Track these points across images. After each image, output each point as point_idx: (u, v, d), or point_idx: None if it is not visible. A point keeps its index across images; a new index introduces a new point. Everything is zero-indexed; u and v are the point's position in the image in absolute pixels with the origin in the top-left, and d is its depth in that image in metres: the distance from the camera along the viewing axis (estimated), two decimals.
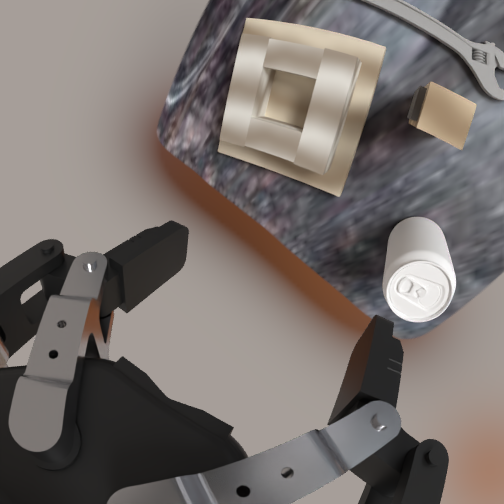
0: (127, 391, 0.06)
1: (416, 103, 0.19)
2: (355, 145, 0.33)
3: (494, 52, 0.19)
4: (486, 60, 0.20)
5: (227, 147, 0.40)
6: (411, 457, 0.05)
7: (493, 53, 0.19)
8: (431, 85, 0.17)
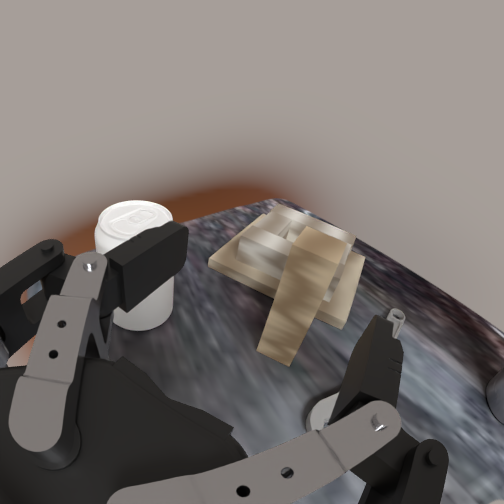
0: (127, 391, 0.06)
1: None
2: (254, 278, 0.40)
3: None
4: None
5: None
6: (411, 457, 0.05)
7: None
8: (343, 242, 0.26)
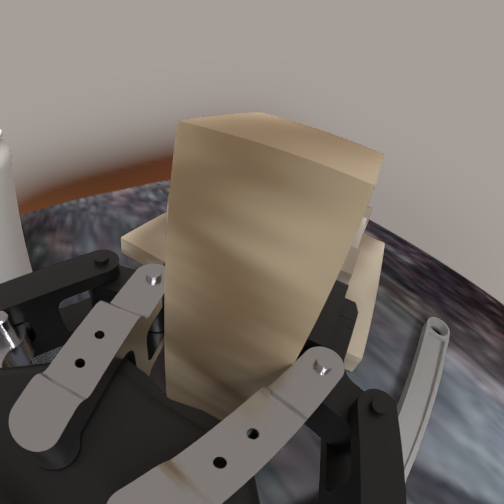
0: (127, 391, 0.06)
1: None
2: None
3: None
4: None
5: None
6: (355, 412, 0.06)
7: None
8: (374, 150, 0.08)
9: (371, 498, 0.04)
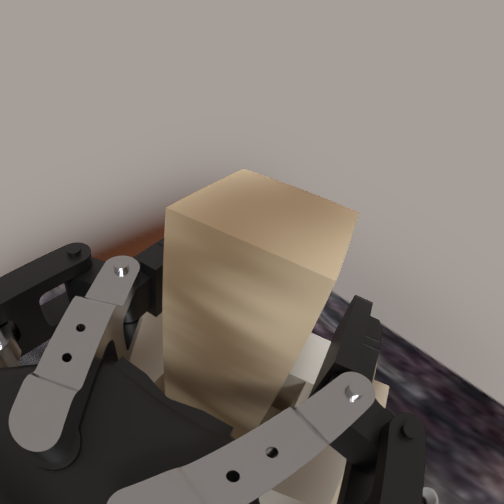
0: (127, 391, 0.06)
1: None
2: None
3: None
4: None
5: None
6: (386, 433, 0.06)
7: None
8: (350, 210, 0.09)
9: None
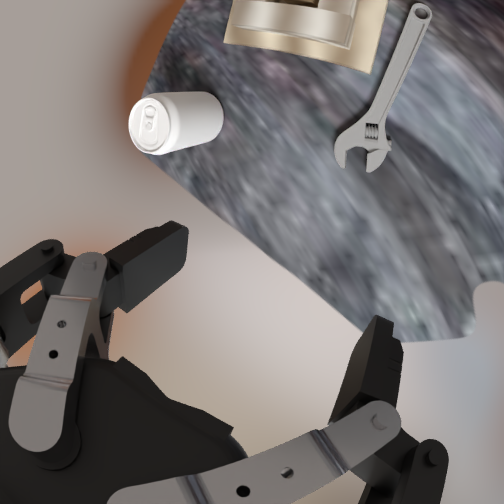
0: (127, 391, 0.06)
1: None
2: (269, 47, 0.32)
3: (381, 149, 0.33)
4: (369, 138, 0.33)
5: None
6: (411, 457, 0.05)
7: (380, 148, 0.33)
8: None
9: None
